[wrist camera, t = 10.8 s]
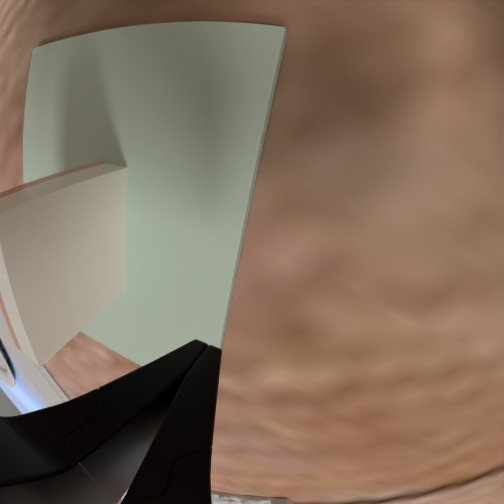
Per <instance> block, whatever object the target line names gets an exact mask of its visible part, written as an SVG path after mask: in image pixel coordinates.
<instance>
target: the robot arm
mask: <svg viewBox="0 0 504 504" xmlns="http://www.w3.org/2000/svg"><path fill="white" fill-rule="evenodd" d="M221 355H222V350H221V349H220V348H218V347H215V346H213V345H208V344H207V343H205V342H203V341H200V340H198V339H194V340H192V341H190V342H188V343H187V344H185V345H183V346H181V347H179V348H177V349H175V350H173V351H171V352H169V353H167V354H166V355H164V356H162V357H160V358H158V359H156V360H154V361H152V362H150V363H148V364H146V365H144V366H142V367H140V368H138V369H136V370H134V371H132V372H130V373H128V374H126V375H124V376H122V377H120V378H118V379H116V380H114V381H112V382H109V383H107V384H105V385H103V386H101V387H99V390H98V389H95V390H92V391H90V392H88V393H86V394H84V395H81V396H79V397H76V398H74V399H72V400H69V401H66V402H63V403H60V404H57V405H54V406H51V407H47V408H44V409H41V410H37V411H34V412H30V413H26V414H23V415H18V416H12V417H0V504H117V503H118V501H119V500H120V499H121V497H122V496H123V495H124V493H125V492H126V490H127V489H128V488H129V489H128V491H127V494H126V495H125V497H124V499H123V501H122V502H121V504H212V498H211V480H210V474H211V456H212V444H213V433H214V423H215V413H216V403H217V393H218V383H219V374H220V365H221ZM129 486H130V487H129Z"/></svg>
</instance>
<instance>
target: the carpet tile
mask: <svg viewBox="0 0 504 504" xmlns="http://www.w3.org/2000/svg"><path fill="white" fill-rule="evenodd" d="M129 487H130V486H129ZM211 498H212V504H294V503H293V502H291V501H290V500H289V499H284V498H283V499H278V498H267V497H254V496H244V495H235V494H228V493H221V492H216V491H211Z"/></svg>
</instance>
